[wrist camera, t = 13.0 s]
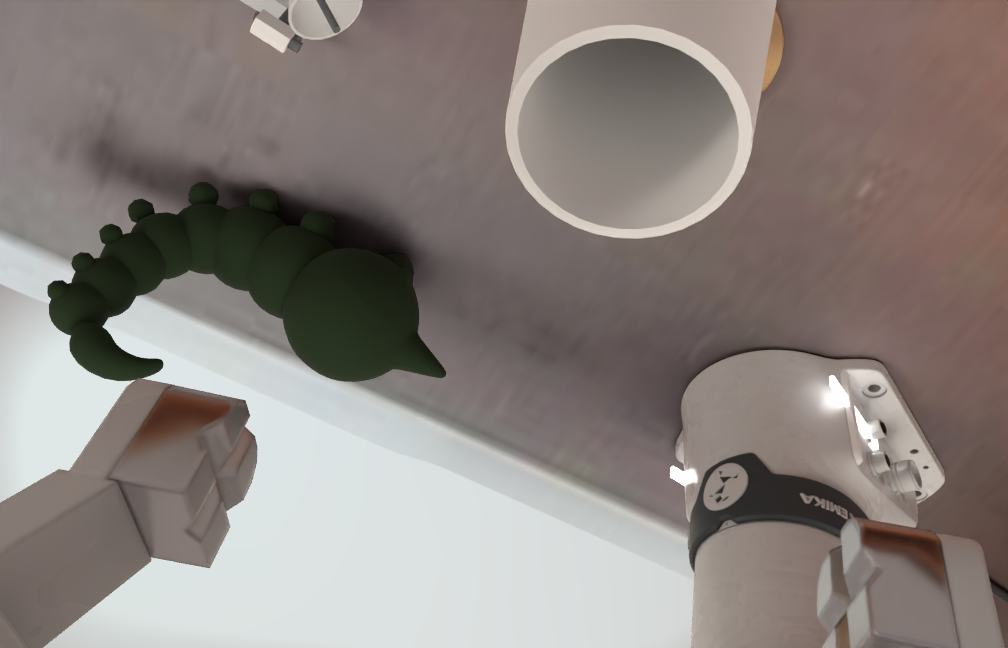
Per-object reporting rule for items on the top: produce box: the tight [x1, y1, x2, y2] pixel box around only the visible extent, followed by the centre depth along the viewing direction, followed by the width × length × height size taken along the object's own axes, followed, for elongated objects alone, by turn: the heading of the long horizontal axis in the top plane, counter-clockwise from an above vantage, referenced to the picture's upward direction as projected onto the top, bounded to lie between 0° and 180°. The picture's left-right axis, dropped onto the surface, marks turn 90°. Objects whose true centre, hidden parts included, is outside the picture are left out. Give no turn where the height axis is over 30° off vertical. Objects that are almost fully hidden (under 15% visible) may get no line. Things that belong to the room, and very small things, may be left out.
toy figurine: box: [48, 182, 446, 382], centre depth 61 cm, size 9×19×25 cm
